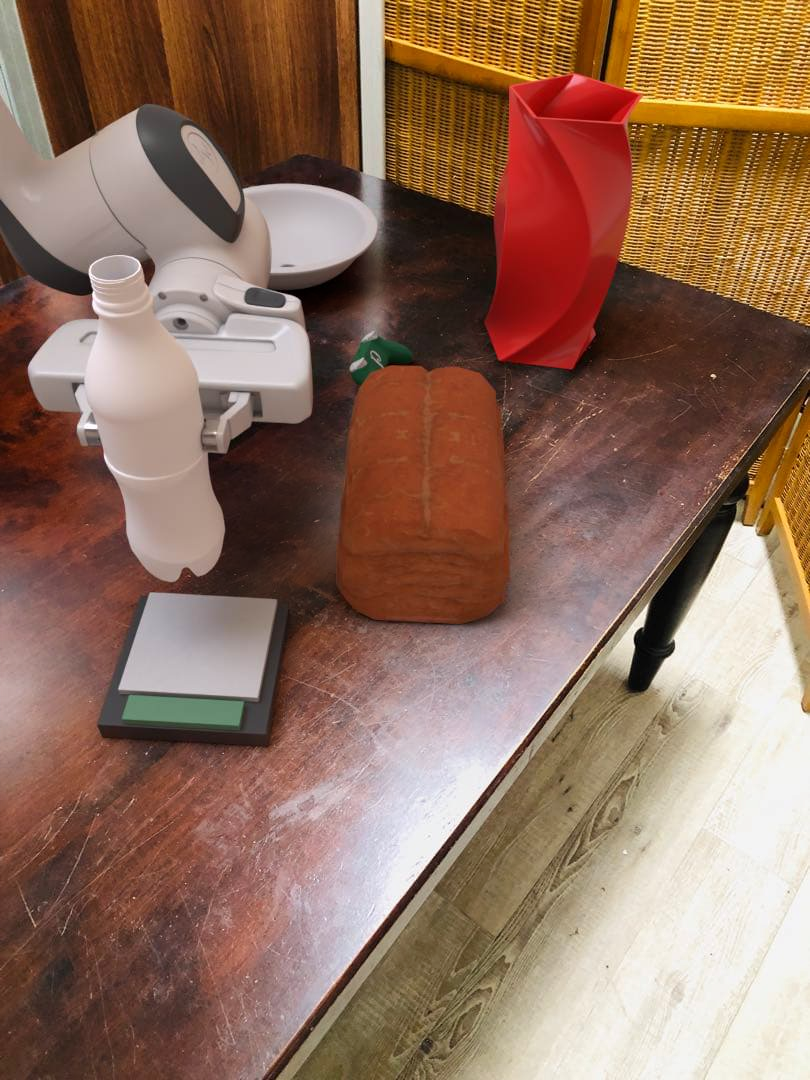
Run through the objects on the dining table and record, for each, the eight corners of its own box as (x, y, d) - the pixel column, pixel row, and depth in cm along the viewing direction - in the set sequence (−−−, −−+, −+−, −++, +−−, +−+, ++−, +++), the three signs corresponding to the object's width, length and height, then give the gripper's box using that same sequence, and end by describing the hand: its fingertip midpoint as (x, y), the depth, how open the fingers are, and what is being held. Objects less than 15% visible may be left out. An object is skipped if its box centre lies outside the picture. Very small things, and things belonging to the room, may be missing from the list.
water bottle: (121, 549, 70) (31, 259, 51) (202, 512, 73) (145, 226, 54) (161, 606, 66) (80, 315, 47) (246, 565, 69) (199, 276, 51)
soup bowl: (158, 279, 115) (149, 232, 111) (278, 212, 129) (274, 167, 125) (300, 342, 106) (297, 293, 102) (412, 262, 120) (414, 216, 115)
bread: (496, 433, 96) (506, 350, 88) (509, 627, 77) (524, 545, 69) (353, 427, 96) (351, 344, 88) (332, 621, 77) (328, 537, 69)
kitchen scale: (101, 737, 69) (94, 719, 67) (144, 607, 78) (138, 589, 76) (267, 746, 68) (265, 729, 67) (291, 616, 77) (289, 597, 76)
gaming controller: (394, 369, 106) (359, 334, 104) (417, 353, 104) (381, 317, 101) (377, 416, 100) (339, 380, 97) (401, 400, 98) (363, 363, 95)
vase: (466, 354, 106) (488, 111, 85) (493, 294, 115) (518, 63, 95) (592, 378, 103) (645, 133, 83) (608, 314, 113) (659, 81, 92)
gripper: (52, 285, 67) (-16, 397, 57) (321, 298, 67) (297, 413, 57) (73, 355, 71) (13, 469, 62) (324, 367, 71) (303, 484, 62)
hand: (152, 442), depth 59 cm, fingers closed on water bottle, 7 cm apart
